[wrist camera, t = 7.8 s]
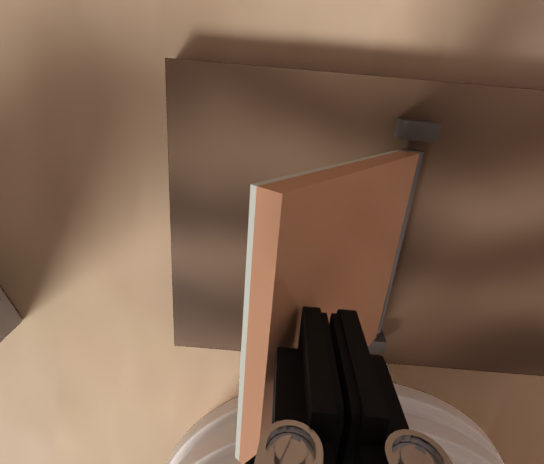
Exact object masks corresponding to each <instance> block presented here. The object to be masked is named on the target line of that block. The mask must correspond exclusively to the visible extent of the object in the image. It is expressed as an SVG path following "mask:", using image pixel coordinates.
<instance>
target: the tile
mask: <svg viewBox="0 0 544 464" xmlns="http://www.w3.org/2000/svg"><path fill="white" fill-rule="evenodd" d="M423 155H424V151H421V150H416V149H407V148H403V149H401V150H394V151H390V152H386V153H381V154H377V155H373V156H369V157H364V158H360V159H356V160H352V161H347V162H343V163H339V164H335V165H330V166H326V167H322V168H318V169H313V170H309V171H305V172H301V173H296V174H292V175H288V176H284V177H279V178H275V179H271V180H267V181H262V182H258V183H254V184H251V185H250V203H249V220H248V238H247V255H246V273H245V290H244V307H243V325H242V342H241V360H240V377H239V395H238V412H237V429H236V447H235V458H236V459H237V460H238V461H239V462H241V463H242V464H245V463H246V462H247V461H249V460H250V459H251V458H252V457H254V456H255V455H256V453H257V449H258V445H259V441H260V438H261V436H262V434H263V432H264V431H265V430H266V429H267V428H268V426H270V425H271V424H272V407H273V386H274V372H275V360H276V350H277V347H286V348H298V341H299V332H300V324H301V315H302V308H303V306H306V307H319V308H321V312H324V313H327V316H328V321H329V322H330V316H331V313H337V310H338V309H345V310H356V311H357V314H358V317H359V320H360V324H361V327H362V330H363V333H364V336H365V339H366V343H367V346H369V345H370V344H371V343H372V342H373V341H374V339H375V338H376V336H377V334H379V333H380V332H381V330H382V326H383V321H384V317H385V313H386V309H387V305H388V301H389V297H390V292H391V288H392V284H393V280H394V276H395V272H396V267H397V263H398V259H399V255H400V251H401V247H402V242H403V238H404V234H405V230H406V226H407V222H408V217H409V213H410V209H411V205H412V201H413V197H414V192H415V188H416V184H417V180H418V176H419V172H420V167H421V163H422V159H423Z"/></svg>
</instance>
